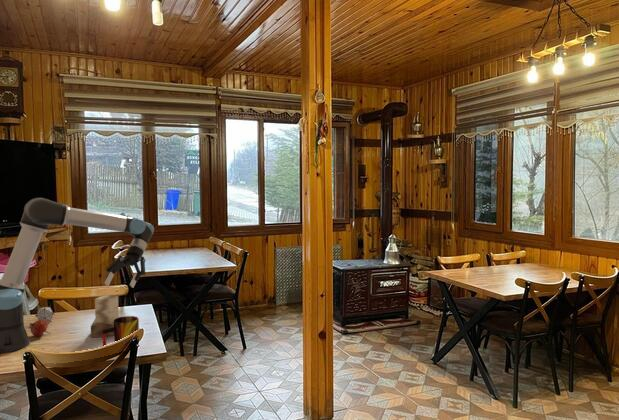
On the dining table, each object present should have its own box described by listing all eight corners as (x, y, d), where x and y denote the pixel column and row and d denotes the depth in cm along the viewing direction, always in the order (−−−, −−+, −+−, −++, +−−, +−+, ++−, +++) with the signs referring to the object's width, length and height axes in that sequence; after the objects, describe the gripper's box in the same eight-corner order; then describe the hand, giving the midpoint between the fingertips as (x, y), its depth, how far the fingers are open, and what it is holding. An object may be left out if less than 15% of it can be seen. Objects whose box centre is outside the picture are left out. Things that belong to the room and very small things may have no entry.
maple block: (95, 323, 208) (94, 298, 208) (104, 318, 215) (103, 295, 215) (110, 323, 207) (109, 299, 207) (118, 319, 214) (118, 295, 214)
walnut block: (91, 339, 204) (90, 326, 204) (95, 331, 216) (95, 318, 215) (120, 336, 208) (119, 323, 207) (123, 328, 219) (122, 316, 219)
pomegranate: (45, 336, 214) (24, 327, 209) (55, 323, 215) (35, 313, 210) (45, 343, 207) (23, 333, 203) (56, 329, 209) (35, 319, 204)
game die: (47, 330, 227) (46, 317, 222) (31, 324, 227) (29, 311, 222) (59, 317, 235) (58, 304, 229) (43, 311, 235) (42, 298, 229)
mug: (102, 354, 186) (101, 325, 185) (124, 342, 199) (123, 315, 198) (122, 356, 183) (121, 327, 182) (144, 344, 196) (143, 317, 196)
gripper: (161, 254, 233) (145, 291, 220) (118, 253, 239) (99, 288, 225) (155, 245, 228) (138, 282, 214) (111, 244, 233) (92, 279, 220)
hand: (118, 285), depth 220 cm, fingers open, 13 cm apart
